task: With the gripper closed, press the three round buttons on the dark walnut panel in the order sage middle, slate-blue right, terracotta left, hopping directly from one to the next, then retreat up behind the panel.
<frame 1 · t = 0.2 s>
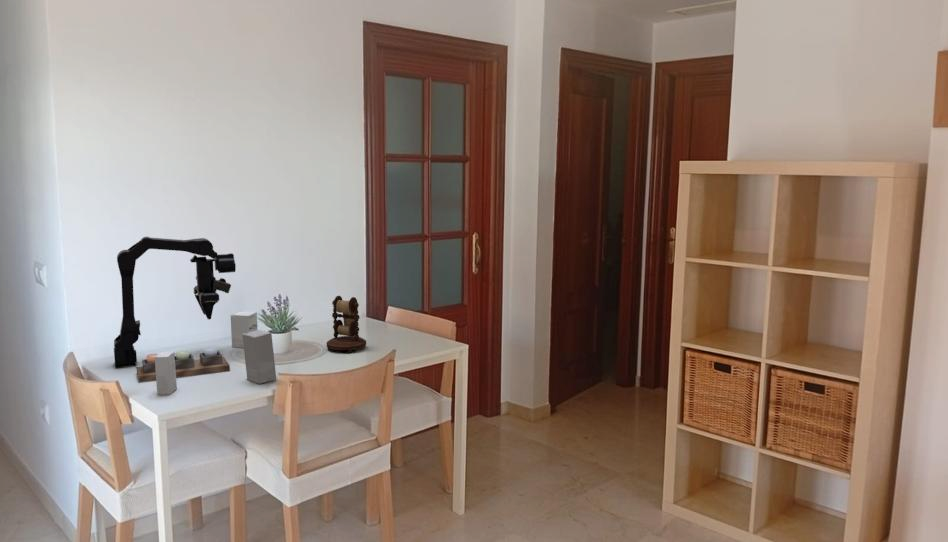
hand: (207, 316, 267), 14 cm above the table, fingers open, 9 cm apart
button panel: (183, 371, 249), on the table
skincare box 2: (167, 392, 228), on the table
supplement box: (245, 346, 283), on the table
terracotta button: (153, 359, 244), point 5 cm above the table, slide at 0.0 cm
sage button: (182, 356, 248), point 5 cm above the table, slide at 0.0 cm
skincare box: (260, 380, 240), on the table
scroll: (346, 349, 279), on the table
slate button: (210, 353, 252), point 5 cm above the table, slide at 0.0 cm
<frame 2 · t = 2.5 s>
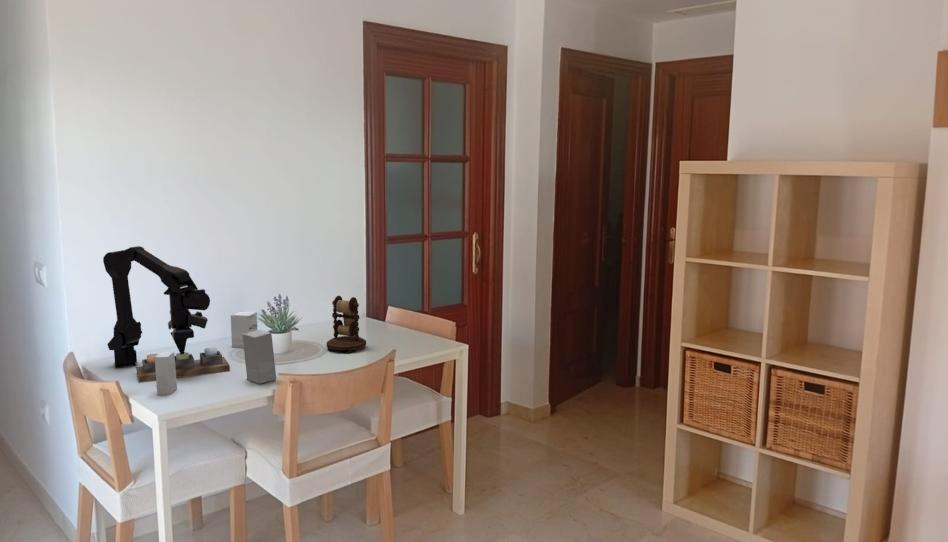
hand: (182, 353, 248), 6 cm above the table, fingers closed, pressing on sage button
sage button: (182, 358, 248), point 5 cm above the table, slide at 0.6 cm, touching gripper
everything else where it was.
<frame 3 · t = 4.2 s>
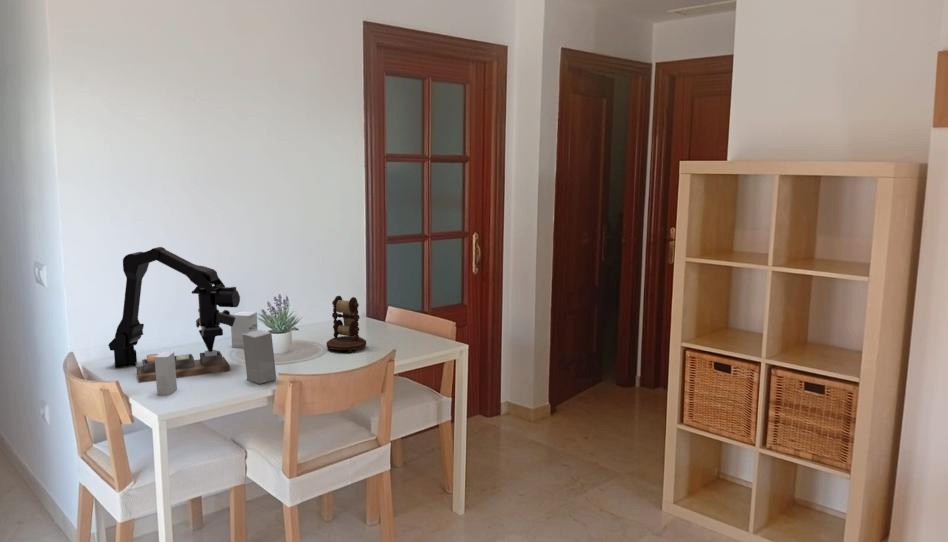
hand: (210, 351, 252), 6 cm above the table, fingers closed, pressing on slate button
sage button: (182, 360, 248), point 4 cm above the table, slide at 1.4 cm
slate button: (210, 355, 252), point 4 cm above the table, slide at 0.9 cm, touching gripper
everything else where it was.
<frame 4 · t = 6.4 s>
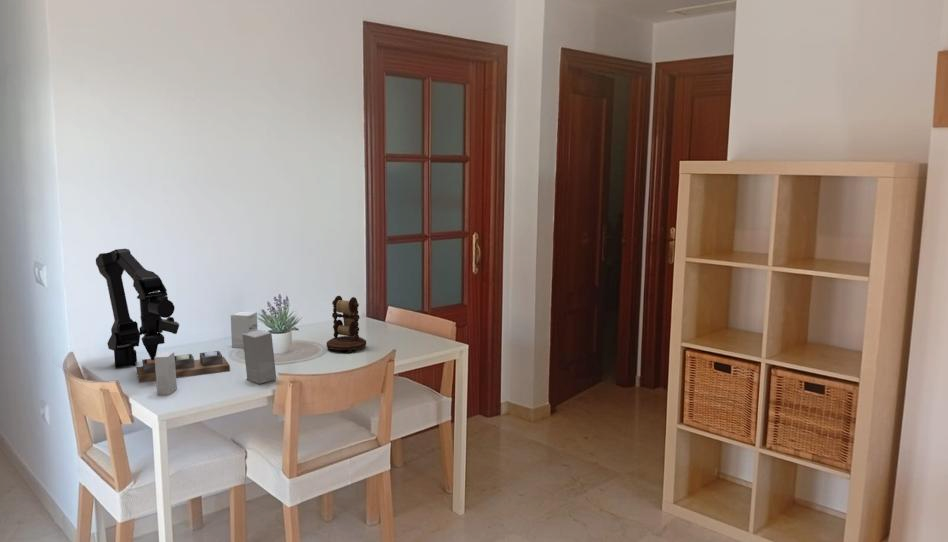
hand: (153, 359, 244), 5 cm above the table, fingers closed, pressing on terracotta button
terracotta button: (153, 364, 244), point 4 cm above the table, slide at 1.4 cm, touching gripper
slate button: (211, 357, 253), point 4 cm above the table, slide at 1.4 cm
everything else where it was.
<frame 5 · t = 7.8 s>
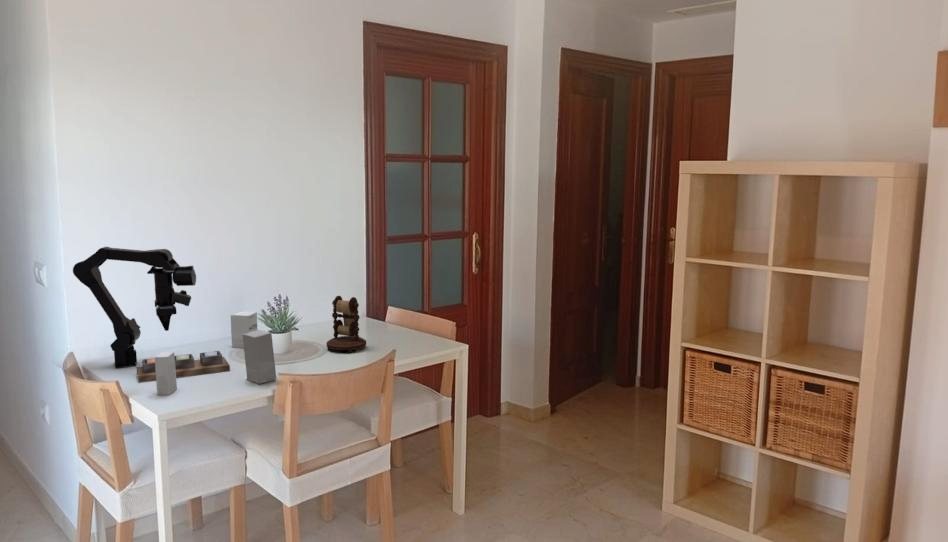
hand: (166, 330, 257), 12 cm above the table, fingers closed
terracotta button: (153, 364, 244), point 4 cm above the table, slide at 1.5 cm
everything else where it was.
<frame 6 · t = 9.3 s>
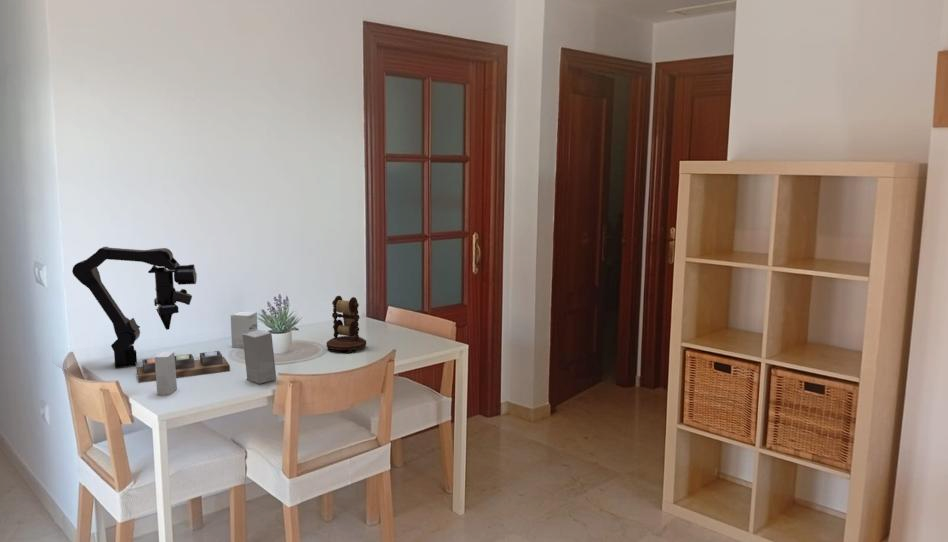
hand: (167, 329, 258), 12 cm above the table, fingers closed
nothing on the table moved.
at the end: sage button slide at 1.4 cm; slate button slide at 1.4 cm; terracotta button slide at 1.5 cm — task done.
